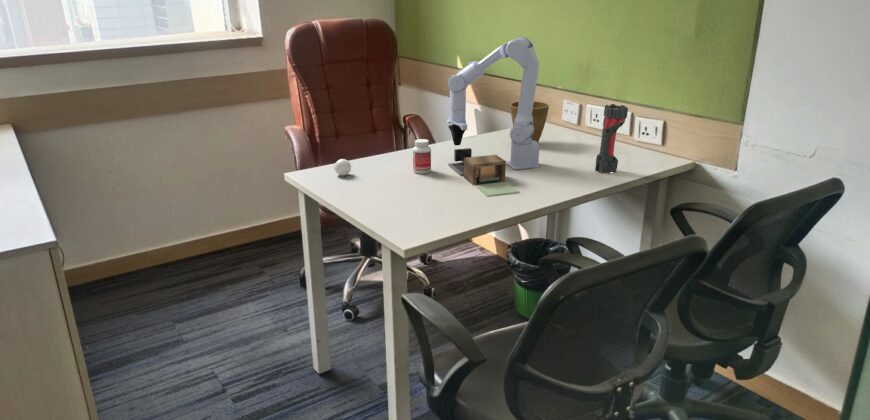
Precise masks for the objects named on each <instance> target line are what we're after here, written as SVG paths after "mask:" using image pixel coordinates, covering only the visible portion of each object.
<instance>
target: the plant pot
mask: <svg viewBox="0 0 870 420" xmlns="http://www.w3.org/2000/svg"><path fill="white" fill-rule="evenodd" d="M518 104H519V101H514V102H512V103H510V104H509V106H510V107H509V108H510V114H511V121H512V126H513V125H514V121H515V118H516V116H517V111H518ZM549 106H550V105H549V104H548V103H546V102H542V101H535V100H534V103H533V110H532V117H533V126H534V132H533V134H532V135H531V138H532V140H535V141H537V143H538V144H539V141H540V140H541V137H542V134H543V132H544V127H545V125H546V120H547V117H548V112H549Z"/></svg>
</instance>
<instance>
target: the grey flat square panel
mask: <svg viewBox="0 0 870 420" xmlns="http://www.w3.org/2000/svg"><path fill="white" fill-rule="evenodd" d="M447 166H448V167H449V168H451V169H452V170H453V171H454V172H455V173H456V174H458V175H460V177H464V163H463V162H462V161H459V162H453V163H448V165H447Z"/></svg>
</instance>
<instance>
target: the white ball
mask: <svg viewBox="0 0 870 420" xmlns="http://www.w3.org/2000/svg"><path fill="white" fill-rule="evenodd" d="M334 171H335V172H336V174H338V175H339V176H343V177H344V176H347V175H349V174H350V173H351V171H352V165H351V162H350V161H349V160H347V159H345V158H340V159H337V161H336V162H335V163H334Z"/></svg>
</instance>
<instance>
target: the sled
mask: <svg viewBox="0 0 870 420" xmlns="http://www.w3.org/2000/svg"><path fill="white" fill-rule="evenodd" d="M453 150H454V152H453V153H454V154H453V155H454V157H453V161H454V162H463V163H464V158H467V157H473V156H472V151H473V150H472V148H470V147H468V148H467V147H466V148H457V149H455V148H454V149H453ZM476 181H478V182H479V183H481V182H482V183H484V182H492V181H493V182H494V181H500V177H499V176H498V175H496V174H495V165H492V166H483V167H477V176H476Z"/></svg>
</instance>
